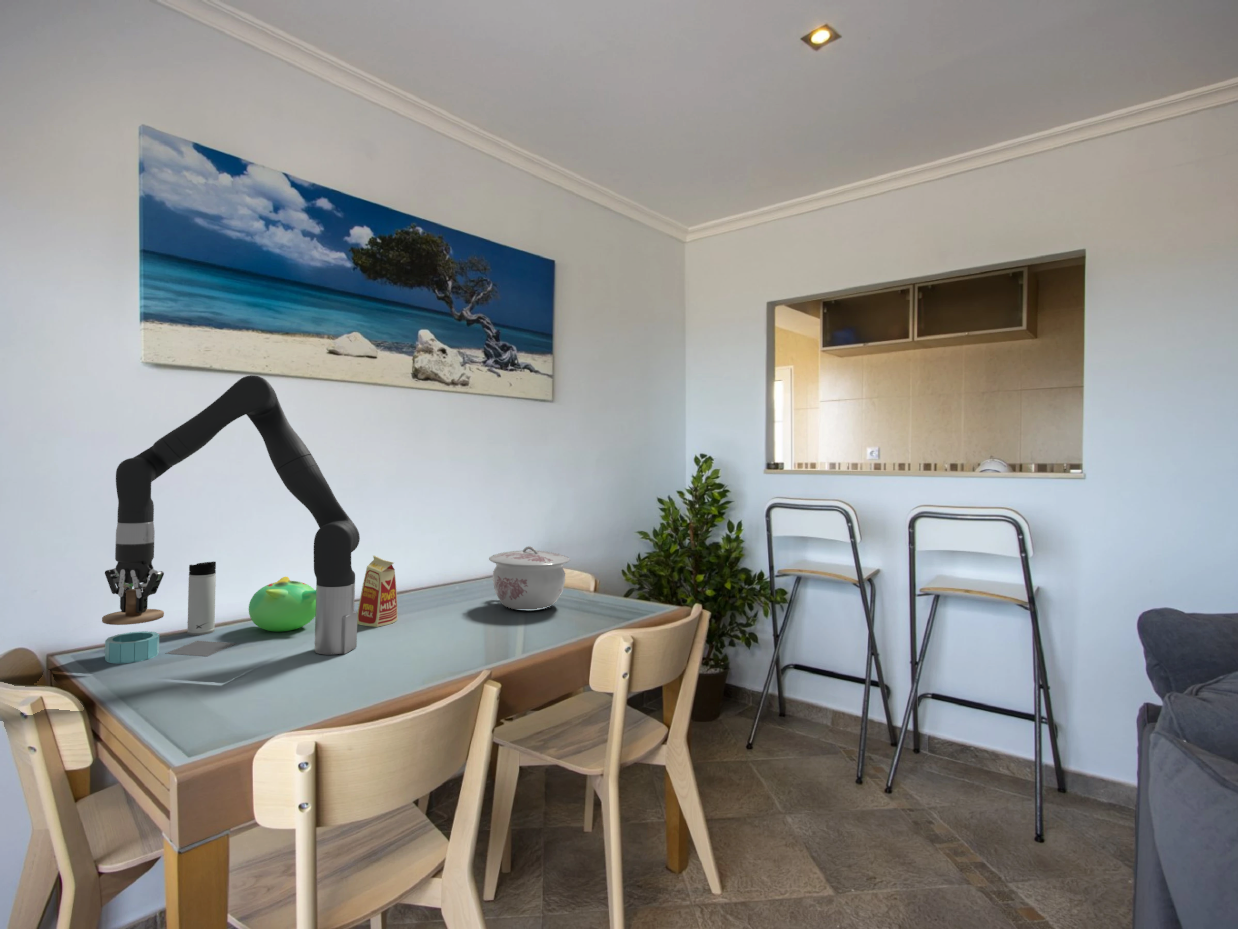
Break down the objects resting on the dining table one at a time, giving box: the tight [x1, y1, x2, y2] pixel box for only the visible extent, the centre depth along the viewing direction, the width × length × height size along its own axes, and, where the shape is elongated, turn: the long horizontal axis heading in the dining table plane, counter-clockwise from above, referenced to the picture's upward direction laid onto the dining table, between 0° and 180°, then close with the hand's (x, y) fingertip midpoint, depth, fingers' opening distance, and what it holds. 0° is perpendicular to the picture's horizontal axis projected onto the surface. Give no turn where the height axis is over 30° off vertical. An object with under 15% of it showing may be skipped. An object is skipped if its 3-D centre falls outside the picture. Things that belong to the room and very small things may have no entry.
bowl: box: [104, 630, 160, 664], centre depth 160 cm, size 10×10×5 cm
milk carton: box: [357, 555, 399, 628], centre depth 200 cm, size 9×9×20 cm
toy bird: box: [248, 576, 316, 633], centre depth 188 cm, size 18×17×15 cm
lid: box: [101, 588, 165, 626], centre depth 160 cm, size 12×12×7 cm
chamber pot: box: [488, 545, 571, 610], centre depth 226 cm, size 28×28×21 cm
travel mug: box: [187, 561, 217, 636], centre depth 181 cm, size 6×7×20 cm
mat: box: [164, 640, 238, 657], centre depth 168 cm, size 11×11×1 cm
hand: (133, 611), depth 160 cm, fingers closed on lid, 3 cm apart
